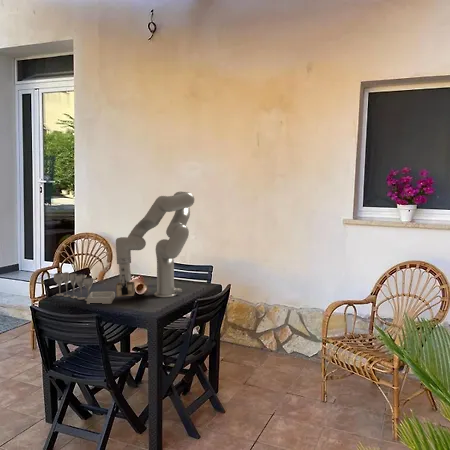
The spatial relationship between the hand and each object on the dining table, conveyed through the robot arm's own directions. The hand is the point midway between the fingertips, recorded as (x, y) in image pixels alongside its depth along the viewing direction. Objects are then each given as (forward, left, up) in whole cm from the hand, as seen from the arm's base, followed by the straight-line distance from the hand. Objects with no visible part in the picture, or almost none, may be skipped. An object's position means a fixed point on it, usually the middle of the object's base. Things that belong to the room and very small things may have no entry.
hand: (125, 292), depth 247 cm
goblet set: (+29, -6, -4) cm, 30 cm away
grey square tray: (+13, 0, -4) cm, 14 cm away
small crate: (0, 0, -1) cm, 1 cm away
